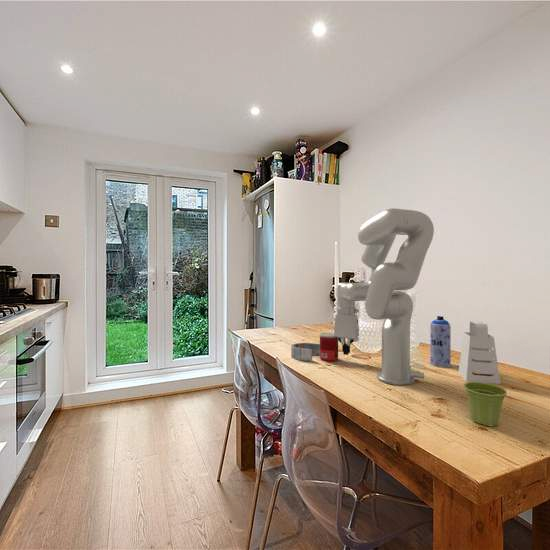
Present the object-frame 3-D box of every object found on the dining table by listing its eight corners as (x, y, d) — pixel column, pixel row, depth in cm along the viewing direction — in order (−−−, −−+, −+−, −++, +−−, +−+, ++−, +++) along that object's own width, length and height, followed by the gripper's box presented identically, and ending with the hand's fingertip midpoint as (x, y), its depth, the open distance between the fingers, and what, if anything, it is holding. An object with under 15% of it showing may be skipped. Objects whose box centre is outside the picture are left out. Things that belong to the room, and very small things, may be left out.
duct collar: (320, 354, 154) (320, 343, 154) (311, 361, 142) (311, 350, 142) (297, 352, 159) (297, 341, 159) (286, 358, 147) (286, 347, 147)
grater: (489, 374, 124) (489, 321, 123) (500, 384, 114) (500, 325, 113) (458, 372, 126) (458, 320, 126) (466, 381, 116) (466, 324, 116)
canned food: (339, 361, 142) (339, 336, 141) (320, 361, 142) (320, 336, 142) (336, 357, 149) (336, 332, 149) (318, 357, 149) (318, 332, 149)
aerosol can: (426, 364, 137) (426, 316, 137) (435, 360, 142) (435, 314, 142) (445, 368, 131) (445, 318, 131) (454, 364, 136) (454, 316, 136)
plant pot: (489, 413, 91) (489, 381, 91) (515, 429, 81) (516, 394, 81) (456, 413, 90) (456, 382, 90) (478, 430, 81) (478, 395, 81)
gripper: (365, 311, 142) (365, 353, 143) (331, 309, 149) (331, 350, 149) (362, 313, 135) (362, 358, 136) (326, 311, 142) (326, 354, 142)
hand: (346, 353), depth 142 cm, fingers closed
